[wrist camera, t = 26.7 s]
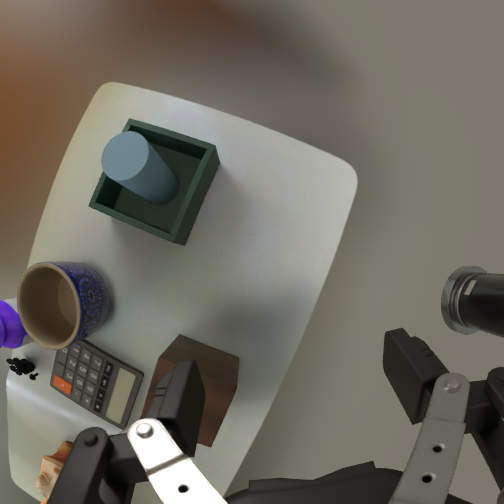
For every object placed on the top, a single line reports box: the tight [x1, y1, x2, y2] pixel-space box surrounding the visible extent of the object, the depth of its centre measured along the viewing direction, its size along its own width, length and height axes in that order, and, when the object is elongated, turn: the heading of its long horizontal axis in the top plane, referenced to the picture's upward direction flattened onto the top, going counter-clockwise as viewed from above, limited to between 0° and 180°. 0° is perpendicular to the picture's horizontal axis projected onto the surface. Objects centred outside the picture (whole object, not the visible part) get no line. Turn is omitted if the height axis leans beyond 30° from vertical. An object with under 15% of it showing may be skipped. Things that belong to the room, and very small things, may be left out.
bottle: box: [0, 298, 35, 348], centre depth 33 cm, size 7×6×17 cm
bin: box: [89, 118, 220, 245], centre depth 39 cm, size 13×13×7 cm
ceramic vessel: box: [36, 441, 73, 504], centre depth 33 cm, size 14×26×15 cm, turn 158°
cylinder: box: [101, 131, 179, 205], centre depth 34 cm, size 5×5×14 cm
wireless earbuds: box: [6, 358, 38, 380], centre depth 39 cm, size 7×2×5 cm, turn 70°
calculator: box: [50, 340, 144, 430], centre depth 41 cm, size 12×1×15 cm
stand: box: [140, 334, 239, 447], centre depth 36 cm, size 9×9×11 cm
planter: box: [17, 262, 109, 350], centre depth 36 cm, size 11×11×11 cm
